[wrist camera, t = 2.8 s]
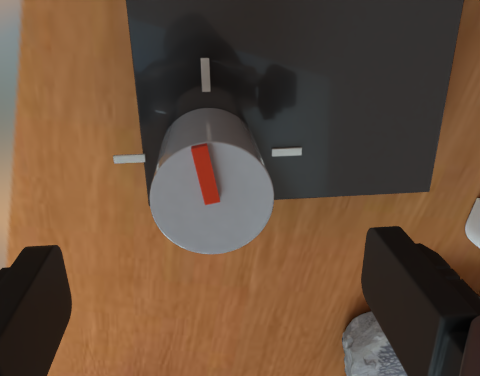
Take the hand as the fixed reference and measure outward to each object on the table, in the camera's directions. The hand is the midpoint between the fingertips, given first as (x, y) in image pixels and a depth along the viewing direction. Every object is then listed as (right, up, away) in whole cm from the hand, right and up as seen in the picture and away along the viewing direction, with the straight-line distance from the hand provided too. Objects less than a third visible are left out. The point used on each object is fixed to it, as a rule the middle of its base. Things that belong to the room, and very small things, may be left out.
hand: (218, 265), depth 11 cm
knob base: (+2, +6, +11) cm, 13 cm away
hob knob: (-1, +4, +8) cm, 9 cm away
